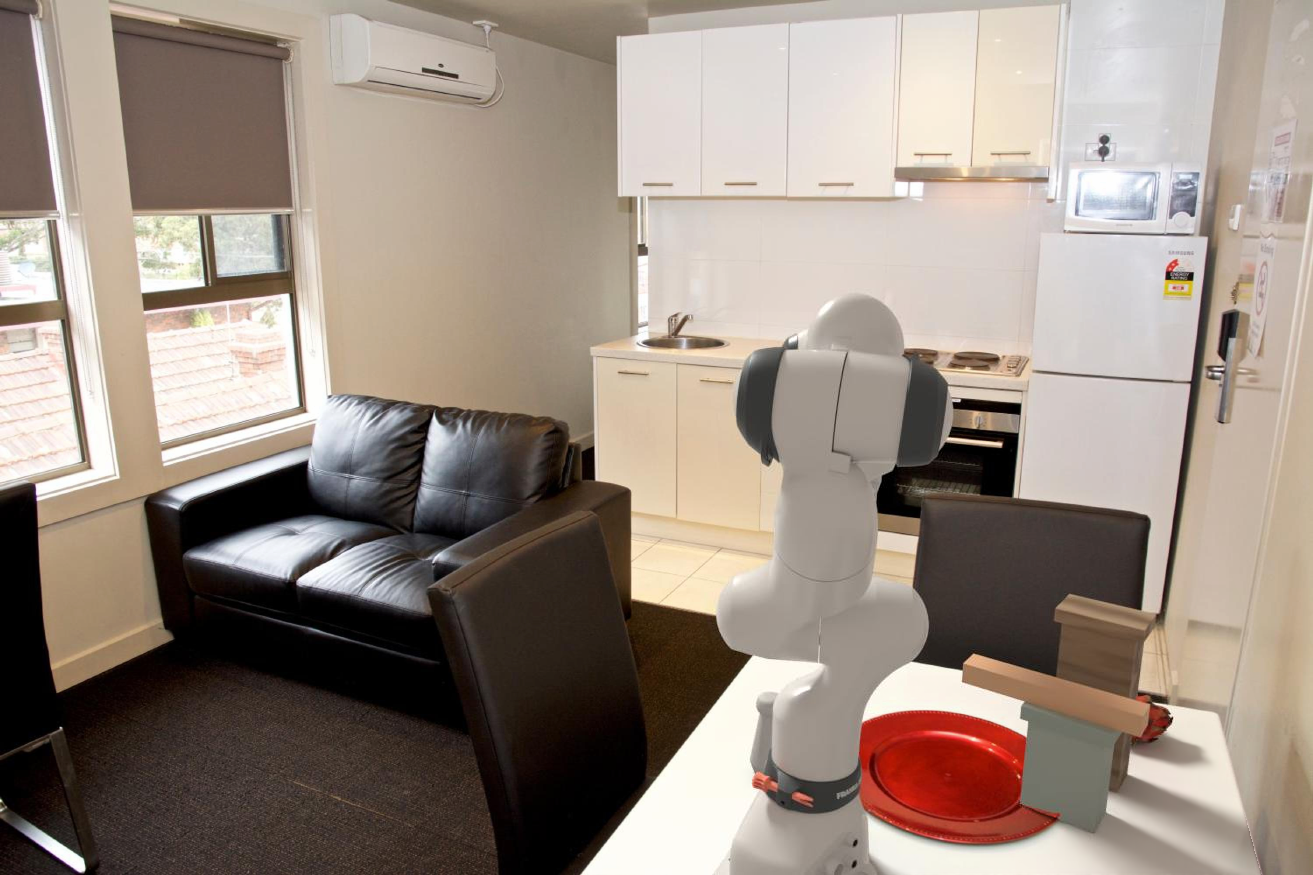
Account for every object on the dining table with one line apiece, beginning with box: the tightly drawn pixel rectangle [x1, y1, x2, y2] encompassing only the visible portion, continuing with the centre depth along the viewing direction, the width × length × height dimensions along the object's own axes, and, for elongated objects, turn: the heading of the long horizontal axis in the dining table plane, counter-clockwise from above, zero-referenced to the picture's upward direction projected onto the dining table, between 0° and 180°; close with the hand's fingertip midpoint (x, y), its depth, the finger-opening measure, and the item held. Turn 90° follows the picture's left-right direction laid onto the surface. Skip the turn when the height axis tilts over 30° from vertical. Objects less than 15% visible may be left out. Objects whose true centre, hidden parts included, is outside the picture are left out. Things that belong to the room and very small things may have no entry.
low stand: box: [1019, 701, 1122, 834], centre depth 133 cm, size 7×12×16 cm, turn 51°
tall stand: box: [1053, 593, 1157, 793], centre depth 141 cm, size 7×12×26 cm, turn 51°
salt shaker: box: [749, 691, 779, 775], centre depth 142 cm, size 6×6×13 cm
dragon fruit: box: [1131, 694, 1174, 745], centre depth 153 cm, size 8×8×12 cm
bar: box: [961, 653, 1150, 737], centre depth 133 cm, size 4×24×3 cm, turn 51°
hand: (855, 510), depth 149 cm, fingers open, 8 cm apart
